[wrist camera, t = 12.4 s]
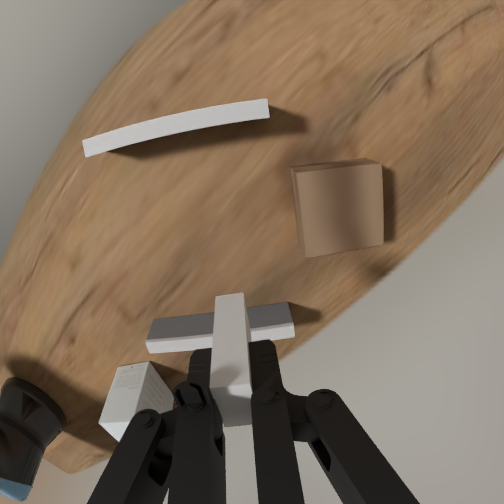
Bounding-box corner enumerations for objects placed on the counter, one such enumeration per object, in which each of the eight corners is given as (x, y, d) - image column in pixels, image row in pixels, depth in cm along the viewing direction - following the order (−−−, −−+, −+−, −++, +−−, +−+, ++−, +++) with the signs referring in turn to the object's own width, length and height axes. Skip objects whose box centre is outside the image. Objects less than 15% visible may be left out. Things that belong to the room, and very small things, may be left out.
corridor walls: (157, 329, 35) (149, 353, 31) (102, 137, 26) (82, 140, 22) (288, 312, 35) (294, 336, 31) (262, 102, 26) (266, 98, 22)
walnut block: (298, 241, 32) (306, 257, 28) (288, 166, 29) (296, 173, 25) (368, 230, 32) (383, 244, 28) (364, 157, 29) (381, 163, 25)
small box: (117, 365, 38) (96, 422, 28) (150, 359, 38) (133, 421, 28) (144, 400, 41) (131, 455, 32) (175, 396, 41) (166, 454, 31)
